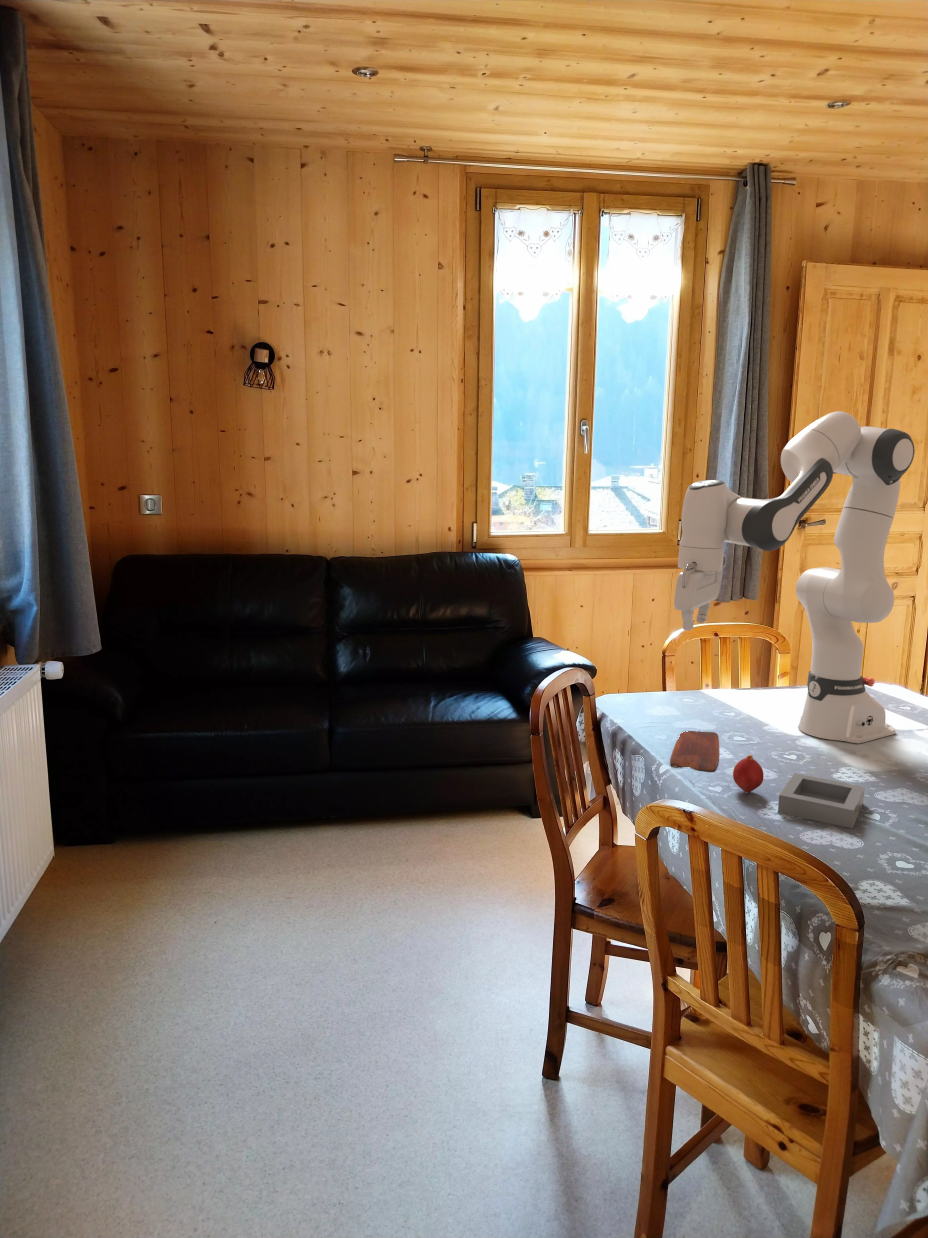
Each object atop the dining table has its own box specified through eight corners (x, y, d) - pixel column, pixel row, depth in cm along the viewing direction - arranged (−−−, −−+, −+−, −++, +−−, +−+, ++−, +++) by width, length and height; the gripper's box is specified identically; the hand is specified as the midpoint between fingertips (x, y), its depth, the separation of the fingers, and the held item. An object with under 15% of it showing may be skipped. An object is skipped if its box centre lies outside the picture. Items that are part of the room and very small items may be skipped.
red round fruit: (727, 787, 178) (729, 749, 176) (754, 786, 178) (757, 749, 177) (738, 798, 172) (741, 760, 171) (766, 798, 173) (770, 759, 171)
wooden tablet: (716, 775, 186) (717, 768, 185) (668, 769, 189) (668, 762, 189) (722, 736, 211) (723, 729, 210) (679, 731, 214) (680, 724, 213)
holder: (777, 812, 166) (779, 795, 165) (793, 789, 177) (794, 773, 176) (851, 828, 159) (853, 810, 159) (863, 804, 170) (864, 787, 169)
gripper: (700, 566, 171) (694, 636, 173) (728, 556, 188) (722, 620, 191) (669, 563, 174) (663, 632, 176) (699, 554, 191) (694, 616, 194)
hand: (694, 626), depth 184 cm, fingers open, 8 cm apart
